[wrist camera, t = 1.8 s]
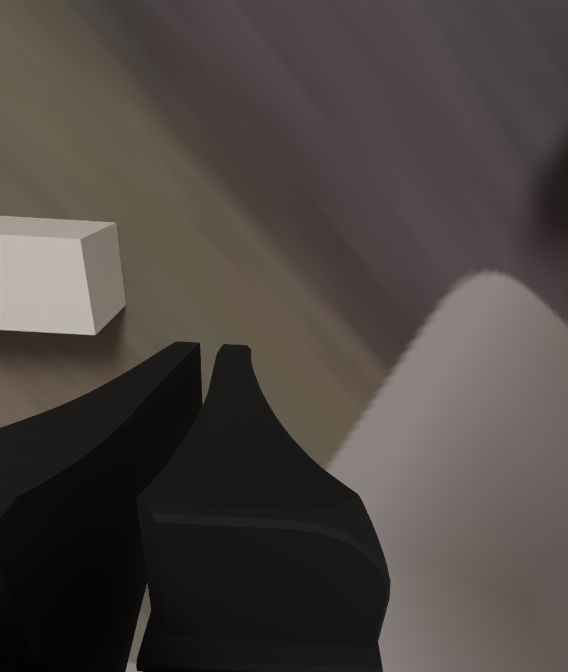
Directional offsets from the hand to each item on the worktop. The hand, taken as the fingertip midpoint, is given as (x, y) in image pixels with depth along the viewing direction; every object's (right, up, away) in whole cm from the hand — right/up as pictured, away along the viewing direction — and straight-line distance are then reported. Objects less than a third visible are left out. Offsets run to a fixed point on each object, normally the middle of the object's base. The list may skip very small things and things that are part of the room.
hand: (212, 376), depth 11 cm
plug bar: (-11, +5, +8) cm, 15 cm away
